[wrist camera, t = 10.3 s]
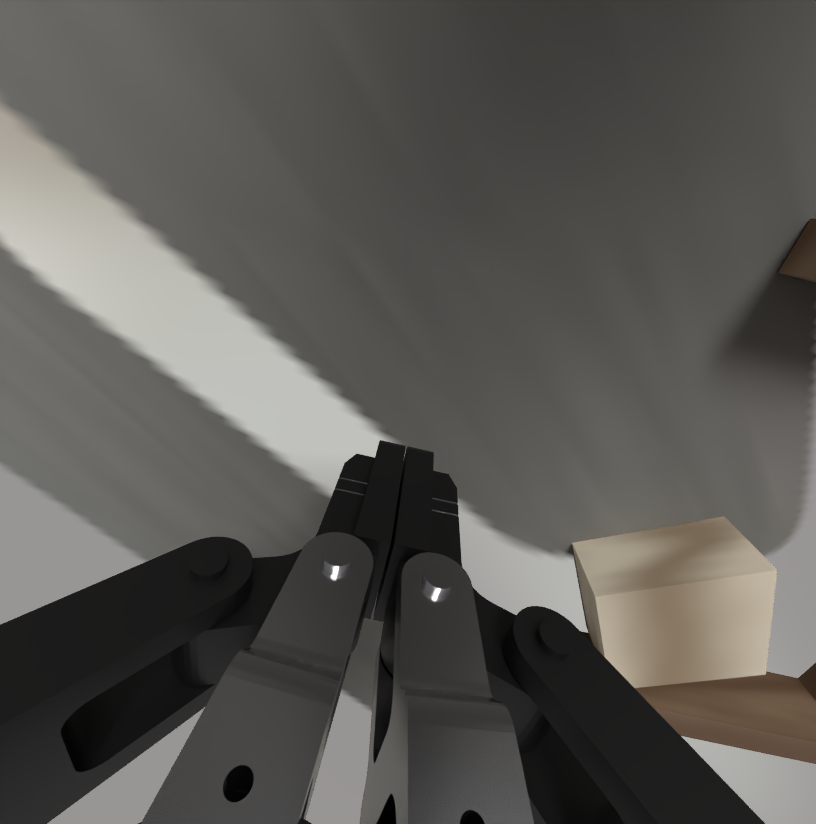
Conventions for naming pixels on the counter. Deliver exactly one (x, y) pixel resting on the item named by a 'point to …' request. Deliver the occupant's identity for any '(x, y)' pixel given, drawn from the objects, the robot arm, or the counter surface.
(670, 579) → the maple tile
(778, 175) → the counter surface
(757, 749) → the wooden u-shaped bracket
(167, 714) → the robot arm
